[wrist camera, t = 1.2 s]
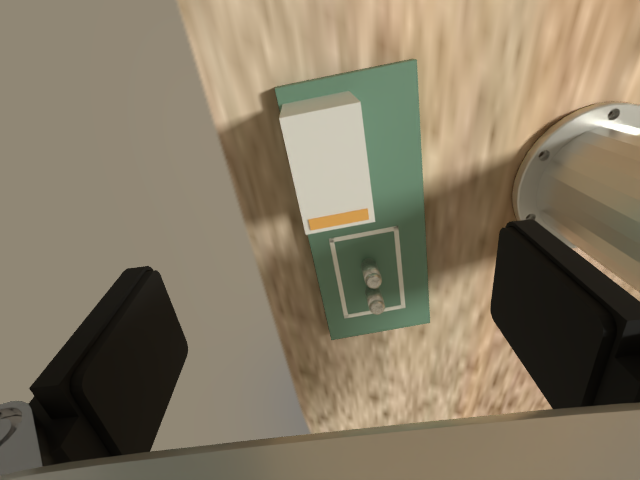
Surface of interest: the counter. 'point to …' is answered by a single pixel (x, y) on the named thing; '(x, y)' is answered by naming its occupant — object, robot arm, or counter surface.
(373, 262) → the grey peg pair
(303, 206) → the plug cap
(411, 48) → the counter surface
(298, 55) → the counter surface
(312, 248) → the header board
